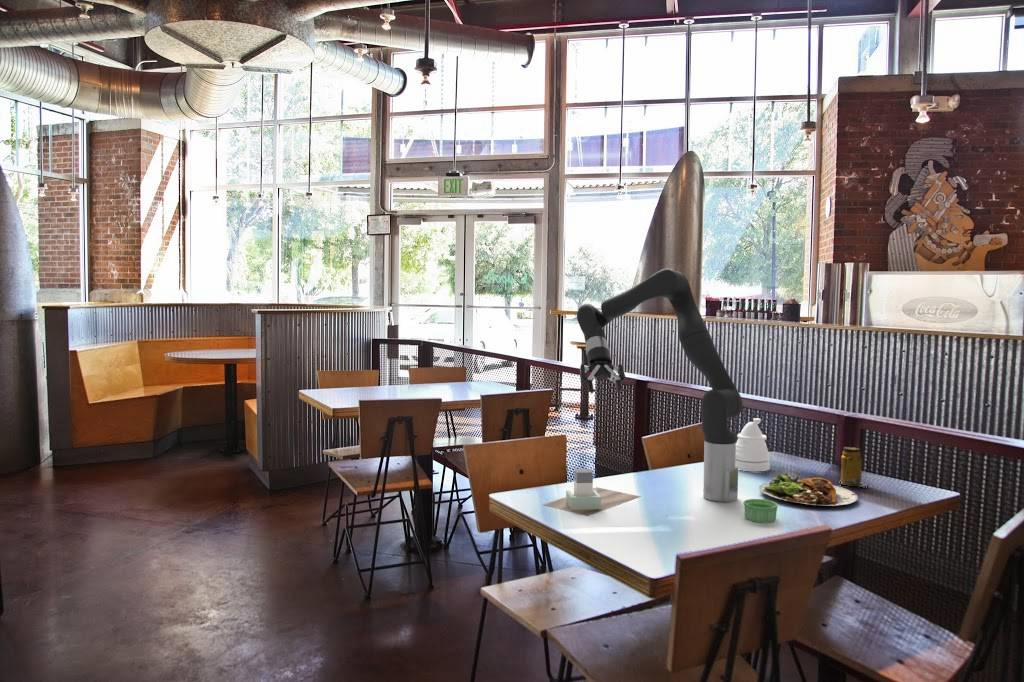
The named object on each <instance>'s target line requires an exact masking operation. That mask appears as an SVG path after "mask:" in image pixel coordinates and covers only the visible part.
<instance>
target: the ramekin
mask: <svg viewBox="0 0 1024 682" xmlns="http://www.w3.org/2000/svg"><path fill="white" fill-rule="evenodd" d="M743 506H744V507H743V508H744V509H743V510H744V517H745V519H747V520H748V521H751V522H753V523H754V522H755V523H762V524H763V523H764V524H767V523H773V522H775V521H776V519H777V518H776V517H777V511H778V506H779V504H778V502H775V501H773V500H769V499H763V498H749V499H745V500H744V501H743Z"/></svg>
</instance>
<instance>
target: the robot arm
mask: <svg viewBox="0 0 1024 682" xmlns="http://www.w3.org/2000/svg"><path fill="white" fill-rule="evenodd" d="M660 297H662V298H665V299H668V301H669V303H670V304H671V306H672V308H673V311H674V313H675V315H676V319H677V335H678V340H679V342H680V344H681V347H682V349H683V352H684V354H685V357H686V358H687V359H688V361H689V362H690V363H691V364H692V365H693V366H694V367H695V368H696V369H697V370H698V371H699V372H700V373H701V374H702V375H703V376H704V378H706V380H707V382H708V383H709V385H710V387H711V389H710V390H706V392H705V393H704V394H703V396H702V399H701V404H700V405H701V406H700V407H701V409H700V411H701V429H702V433H703V437H704V441H703V443H704V444H703V445H704V446H703V447H704V448H703V449H704V450H703V451H704V453H703V489H702V491H703V498H704V499H706V500H710V501H715V502H726V503H730V502H733V501H735V500H736V499H738V496H739V491H738V490H739V471H738V467H736V443H737V434H736V432H734V431H733V430H730V428H729V427H728V419H733V418H737V417H738V416H740V414H741V413H742V411H743V401H742V397H741V394H740V392H739V391H738V389H737V387H736V385H735V384H734V382H733V380H732V378H731V376H730V375H729V373H728V371H727V368H725V365H724V363H723V360H722V359H721V357H720V355H719V353H718V351H717V348H716V346H715V343H714V340H713V339H712V335H711V334H710V331H709V330H708V327H707V325H706V323H705V322H704V319H703V317H702V314H701V313H700V311H699V308H698V306H697V304H696V302H695V298H694V295H693V292H692V289H691V286H690V282H689V280H688V278H687V276H686V275H685V274H684V273H683V272H681V271H678V270H674V269H671V268H663V269H659V271H657V272H655V273H654V274H652V275H650V276H648V278H646V279H644V280H643V281H641V282H639V283H638V284H636V285H634V286H633V287H631V288H629V289H627V290H625V291H622V292H621V293H619V294H616V295H614V296H612V297H610V298H607V299H605V300H603V301H602V302H601V304H600V310H599V309H598V308H597V307H595V306H594V305H593V304H590V303H584V304H582V305H581V306H579V308H578V309H577V313H576V319H577V324H578V325H579V328H580V330H581V332H582V334H583V336H584V342H585V343H584V344H585V355H586V358H587V364H588V366H587V365H585V364H583V363H582V364H580V367H579V378H580V383H581V384H586V386H587V391H588V392H589V393H590V394H593V393H594V391H595V389H594V384H593V382H594V381H595V379H597V380H601V379H604V380H605V379H608V380H609V381H610V382H612V383H614V386H615V391H616V394H620V392H621V391H622V384H623V383H625V379H626V374H625V371H624V368H623V365H622V364H621V363H620V364H618V365H613V364H612V363H613V362H612V358H611V352H610V348H609V344H608V342H607V339H606V338H607V337H606V333H605V330H604V329H603V328H605V327H606V326H607V325H608V324H609V323H611V322H612V321H613V320H614V319H617V318H620V317H622V316H624V315H626V314H628V313H630V312H633V310H635V309H636V308H637V307H638V306H639V305H641V304H642V303H644V302H646V301H648V300H652V299H655V298H660ZM587 371H588V372H589V373H590V374H589V376H588V377H587V376H586V373H587ZM617 374H618V375H617Z"/></svg>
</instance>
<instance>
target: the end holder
mask: <svg viewBox="0 0 1024 682" xmlns="http://www.w3.org/2000/svg"><path fill="white" fill-rule="evenodd" d="M573 495H574V493H572V491H571V490H570V489H568V490H567V489H566V491H565V497H566V503H567V504H568V506H569V507H570V509H571V510H591V509H601V496H600V495H599V494H598V492H597V491H596V490H593V496H577V497H574V496H573Z"/></svg>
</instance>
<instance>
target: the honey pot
mask: <svg viewBox="0 0 1024 682" xmlns="http://www.w3.org/2000/svg"><path fill="white" fill-rule="evenodd" d="M752 419H753V421H749V422H747V423H746V424H745V425H744V426H743V428H742V429H741V432H740V433H738V434H736V438H737V439H736V467H738V469H740V470H745V471H766V470H769V471H770V464H771V463H770V462H771V461H770V460H771V459H770V458H771V455H770V453H769V449H768V445H767V444H766V441H765V440H767V435H765V434H763V432H762V431H761V429H760V427H759V424H760V423H761V421H762V419H761V418H758V417H757V418H756V417H754V418H752Z"/></svg>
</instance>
